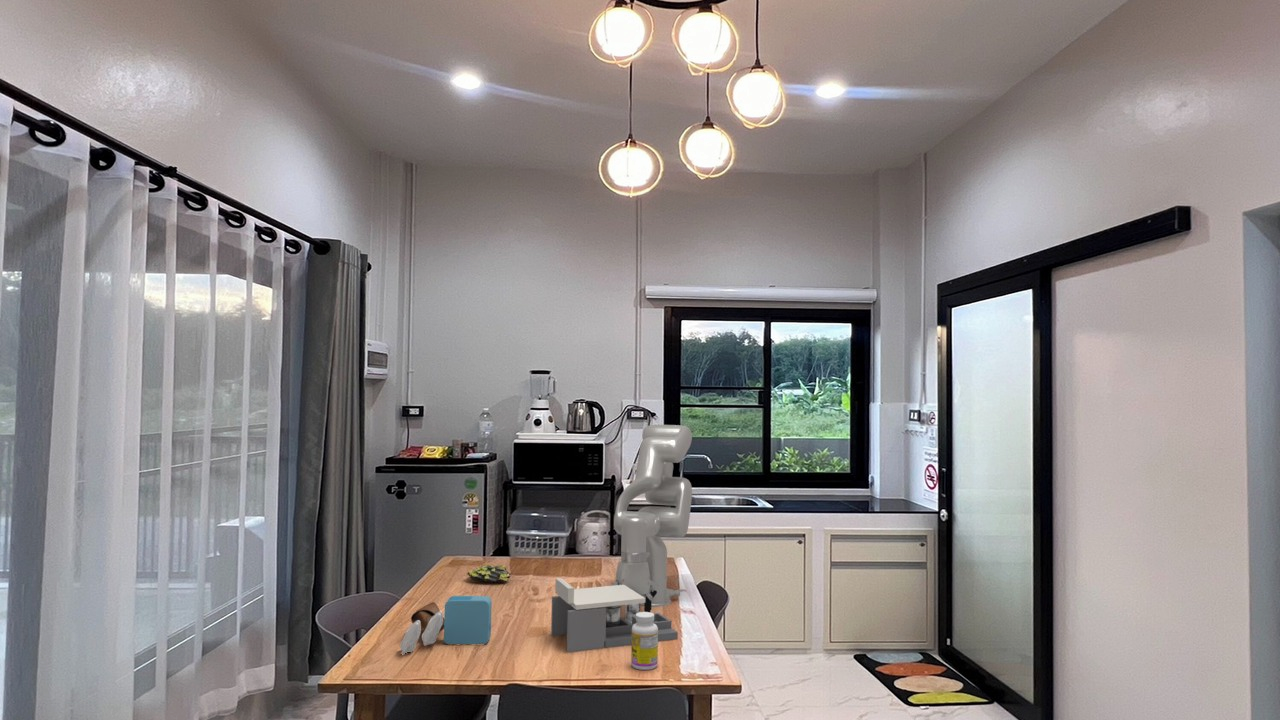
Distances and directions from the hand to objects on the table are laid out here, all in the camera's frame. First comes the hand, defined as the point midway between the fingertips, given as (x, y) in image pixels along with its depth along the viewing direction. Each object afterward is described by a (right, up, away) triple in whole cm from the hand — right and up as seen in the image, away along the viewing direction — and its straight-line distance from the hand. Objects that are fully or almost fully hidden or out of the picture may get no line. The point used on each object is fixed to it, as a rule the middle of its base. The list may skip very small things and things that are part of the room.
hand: (632, 614), depth 226 cm
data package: (-45, 0, -23) cm, 50 cm away
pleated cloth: (-54, -5, +51) cm, 74 cm away
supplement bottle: (+3, 0, -39) cm, 39 cm away
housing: (-5, -1, -16) cm, 17 cm away
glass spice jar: (-5, +1, -16) cm, 17 cm away
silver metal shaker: (0, -2, 0) cm, 2 cm away
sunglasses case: (-57, +1, -16) cm, 59 cm away
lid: (-9, +10, -18) cm, 22 cm away
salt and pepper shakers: (-57, +1, -28) cm, 64 cm away
